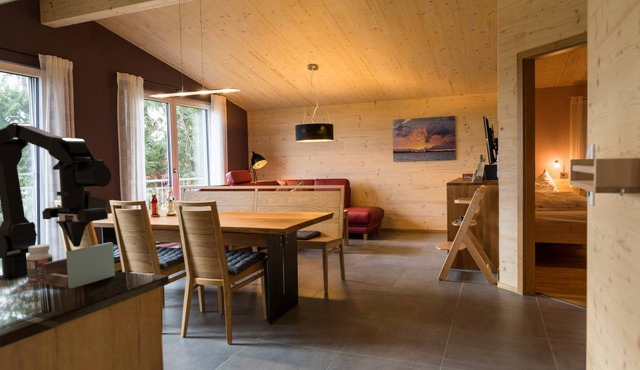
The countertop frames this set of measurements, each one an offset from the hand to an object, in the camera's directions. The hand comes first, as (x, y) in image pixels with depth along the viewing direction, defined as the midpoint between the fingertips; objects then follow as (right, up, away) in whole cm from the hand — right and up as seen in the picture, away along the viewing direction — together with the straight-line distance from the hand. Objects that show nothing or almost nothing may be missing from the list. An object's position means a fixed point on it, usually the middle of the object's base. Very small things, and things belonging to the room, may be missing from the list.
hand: (76, 246), depth 112 cm
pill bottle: (-10, -10, +2) cm, 14 cm away
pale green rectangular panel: (+5, -9, -2) cm, 10 cm away
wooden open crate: (0, -10, +1) cm, 10 cm away
